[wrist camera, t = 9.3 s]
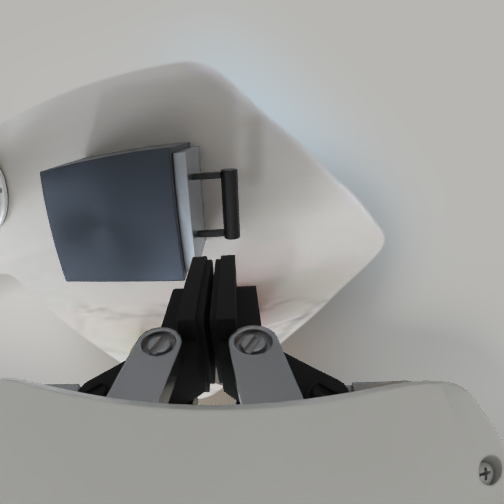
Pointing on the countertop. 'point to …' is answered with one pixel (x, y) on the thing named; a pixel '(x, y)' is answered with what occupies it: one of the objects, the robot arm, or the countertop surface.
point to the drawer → (201, 203)
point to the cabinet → (116, 216)
